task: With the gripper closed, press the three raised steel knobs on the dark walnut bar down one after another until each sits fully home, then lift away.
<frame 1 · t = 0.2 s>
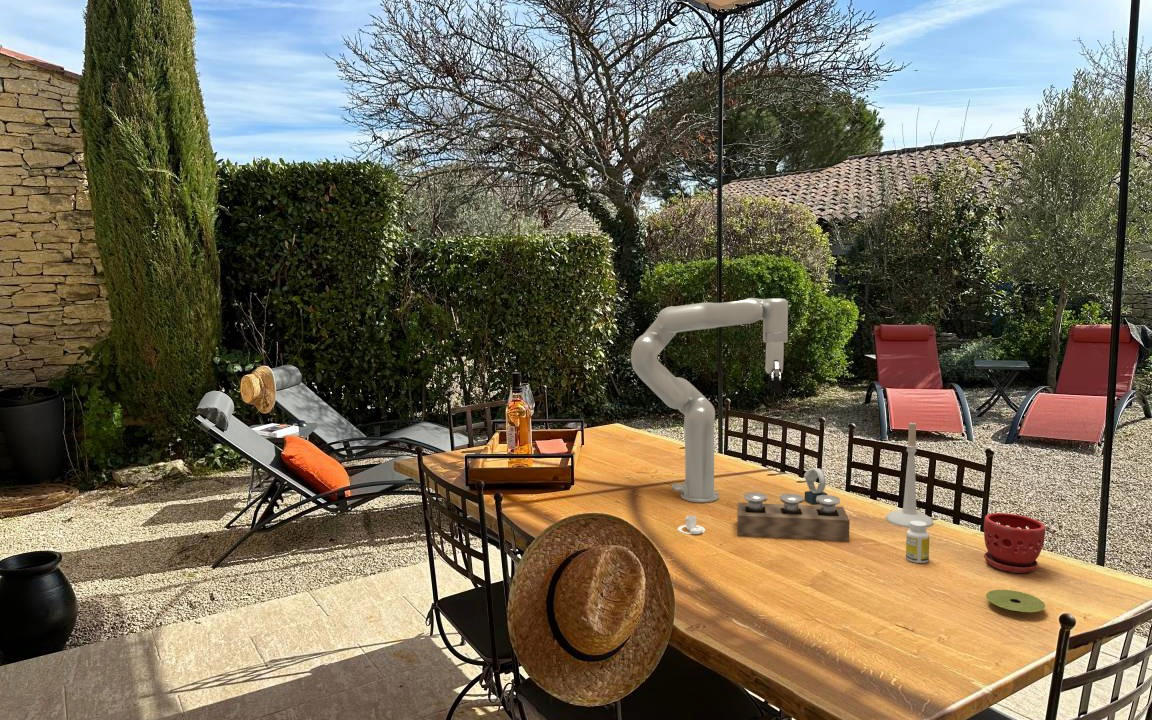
hand: (774, 390, 238), 36 cm above the table, tool pointing down, fingers open, 9 cm apart
plant pot: (1012, 567, 186), on the table
knob 1: (755, 504, 215), point 8 cm above the table, slide at 3.0 cm
knob bar: (790, 531, 214), on the table
watch: (815, 502, 240), on the table
mat: (1014, 609, 164), on the table
knob 2: (827, 507, 211), point 8 cm above the table, slide at 3.0 cm
knob mid: (791, 506, 213), point 8 cm above the table, slide at 3.0 cm
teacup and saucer: (684, 534, 215), on the table
candlestick: (909, 521, 221), on the table
supplement bottle: (917, 560, 192), on the table
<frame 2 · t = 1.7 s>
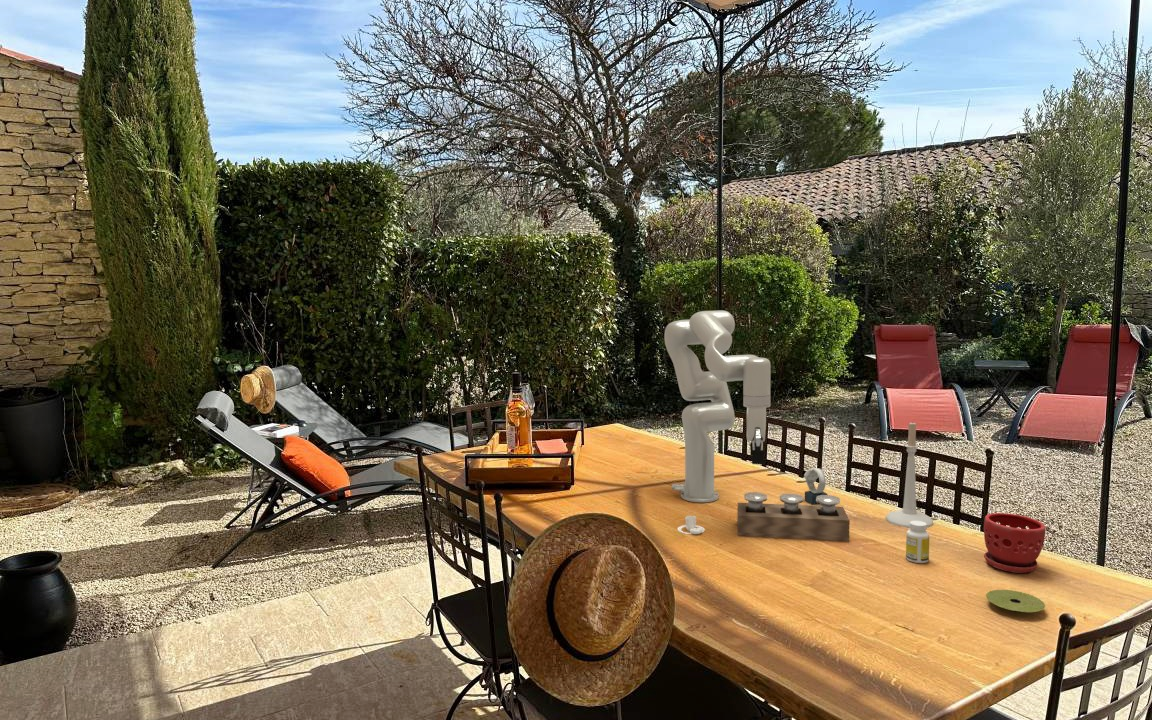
hand: (756, 459, 214), 21 cm above the table, tool pointing down, fingers open, 9 cm apart
nothing on the table moved.
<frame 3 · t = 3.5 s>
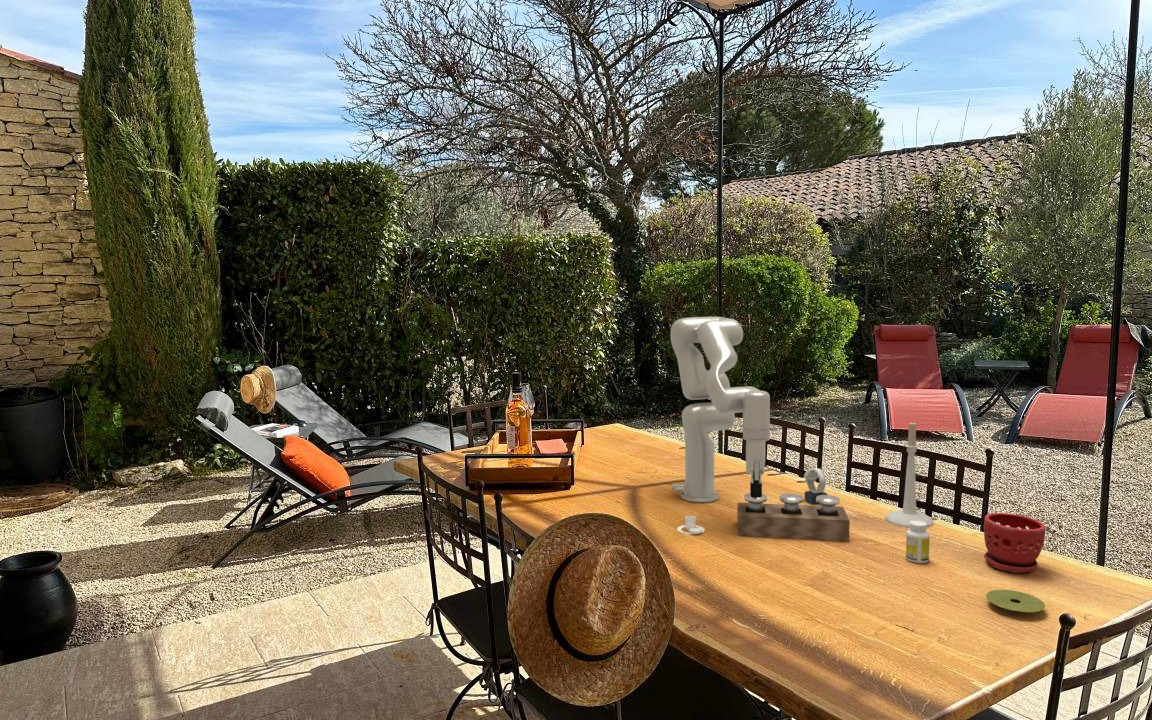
hand: (756, 496, 215), 10 cm above the table, tool pointing down, fingers closed
knob 1: (755, 505, 215), point 7 cm above the table, slide at 2.8 cm, touching gripper
everything else where it was.
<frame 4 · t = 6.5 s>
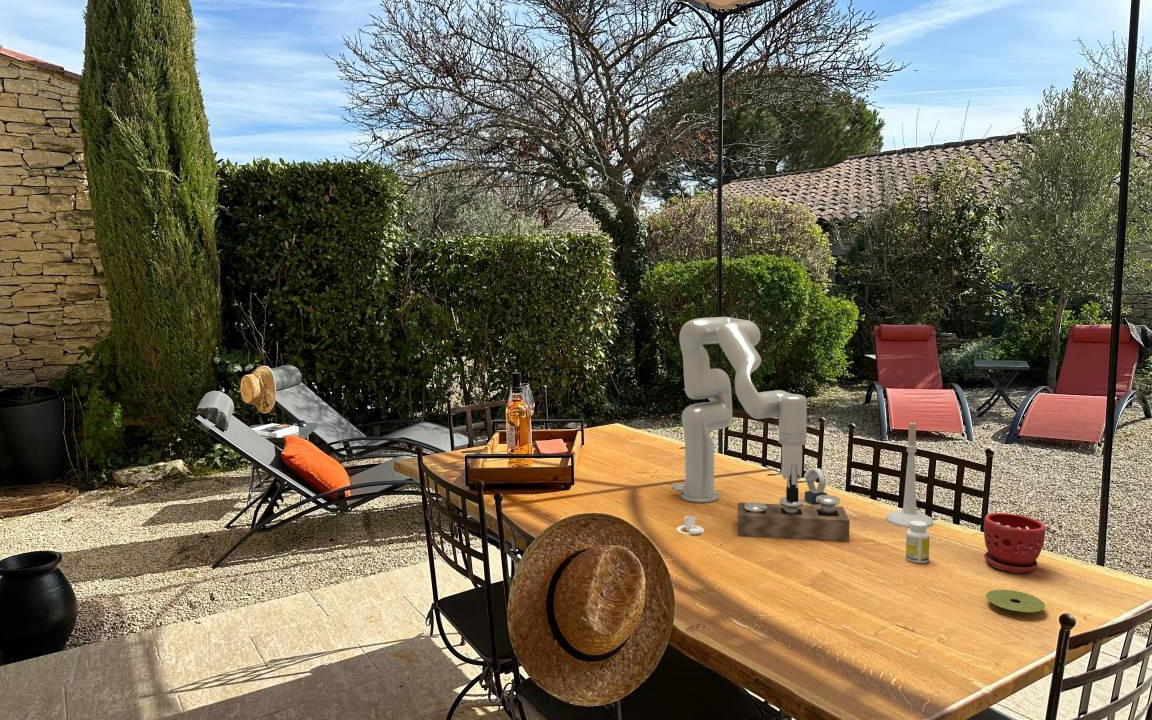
hand: (792, 500, 213), 9 cm above the table, tool pointing down, fingers closed
knob 1: (755, 514, 216), point 4 cm above the table, slide at -0.1 cm
knob mid: (791, 509, 213), point 6 cm above the table, slide at 1.9 cm, touching gripper
everything else where it was.
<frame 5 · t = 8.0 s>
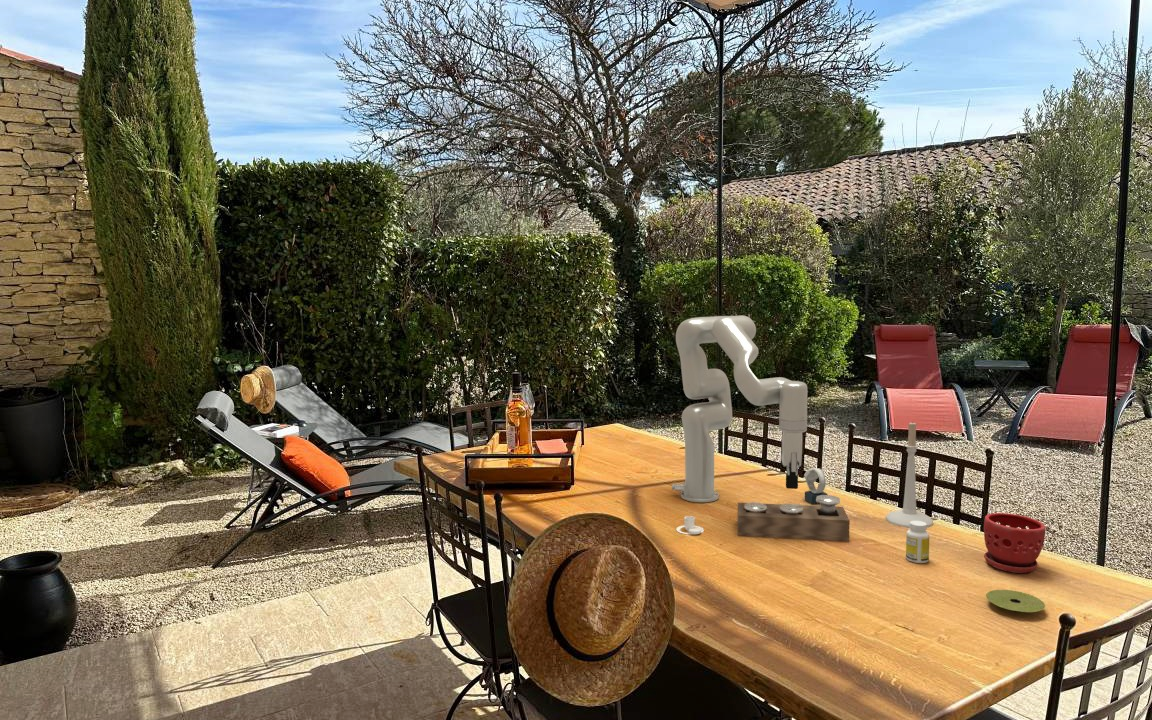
hand: (791, 487, 213), 13 cm above the table, tool pointing down, fingers closed
knob mid: (791, 516, 214), point 4 cm above the table, slide at -0.1 cm
everything else where it was.
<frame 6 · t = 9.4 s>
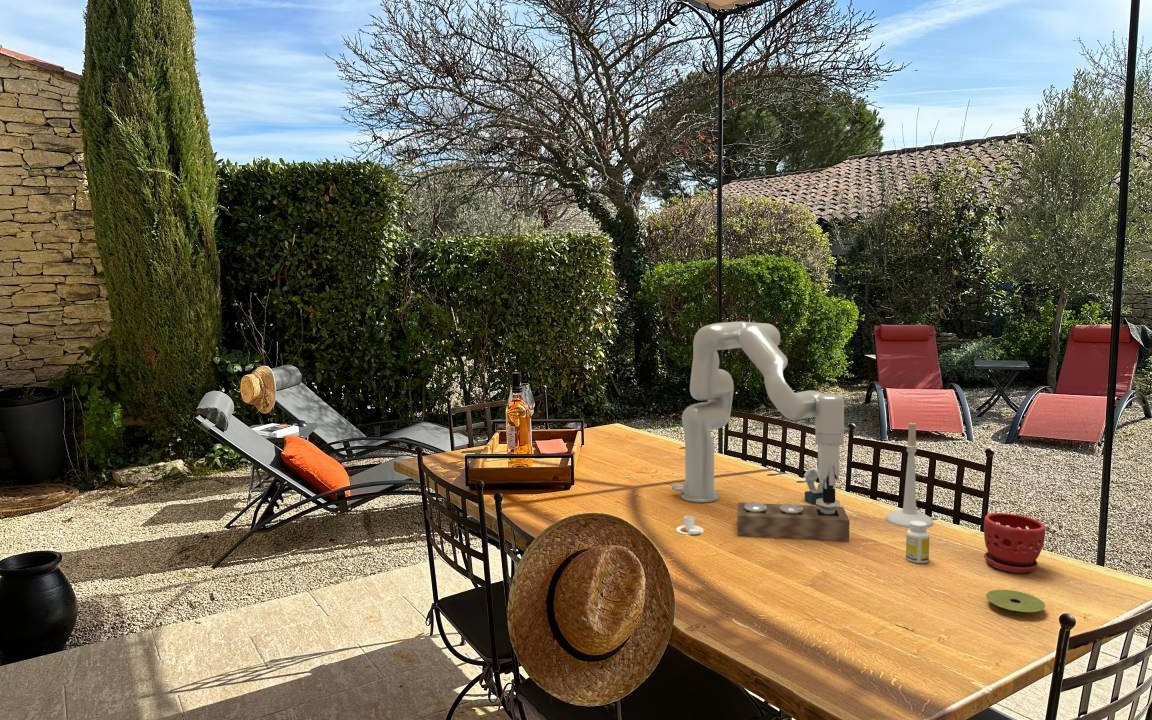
hand: (828, 501, 211), 9 cm above the table, tool pointing down, fingers closed
knob 2: (827, 510, 211), point 7 cm above the table, slide at 2.0 cm, touching gripper
everything else where it was.
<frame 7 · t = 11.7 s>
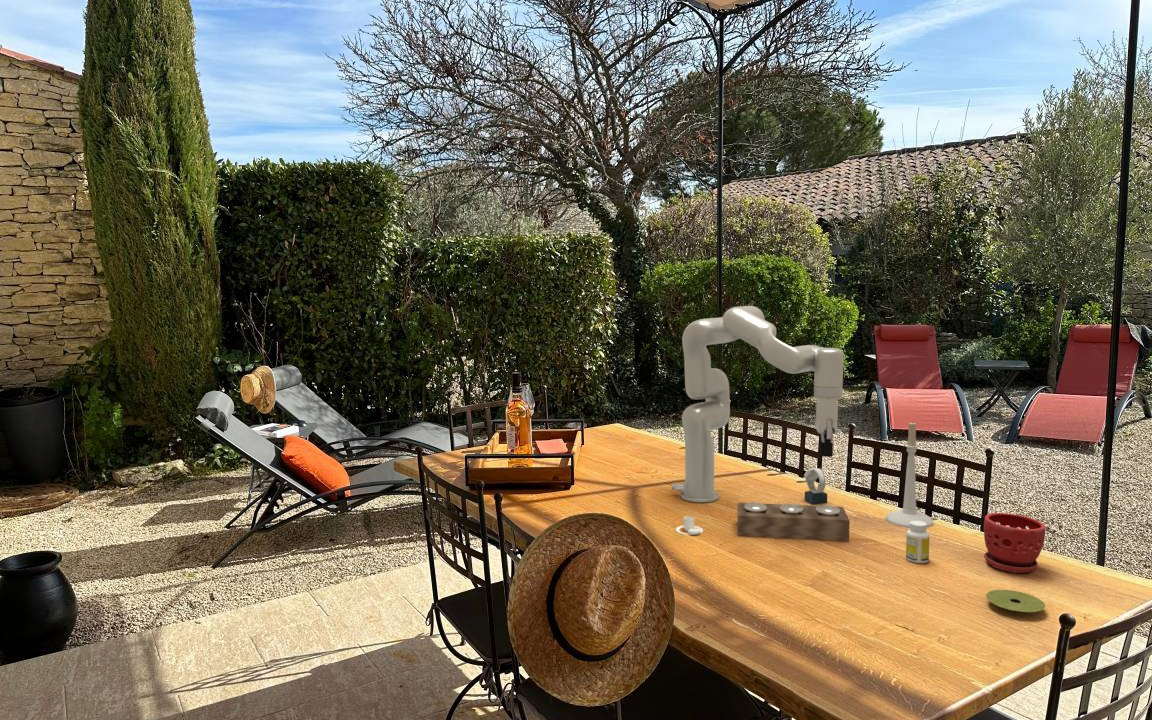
hand: (826, 455, 211), 22 cm above the table, tool pointing down, fingers closed
knob 2: (827, 517, 212), point 4 cm above the table, slide at -0.1 cm
everything else where it was.
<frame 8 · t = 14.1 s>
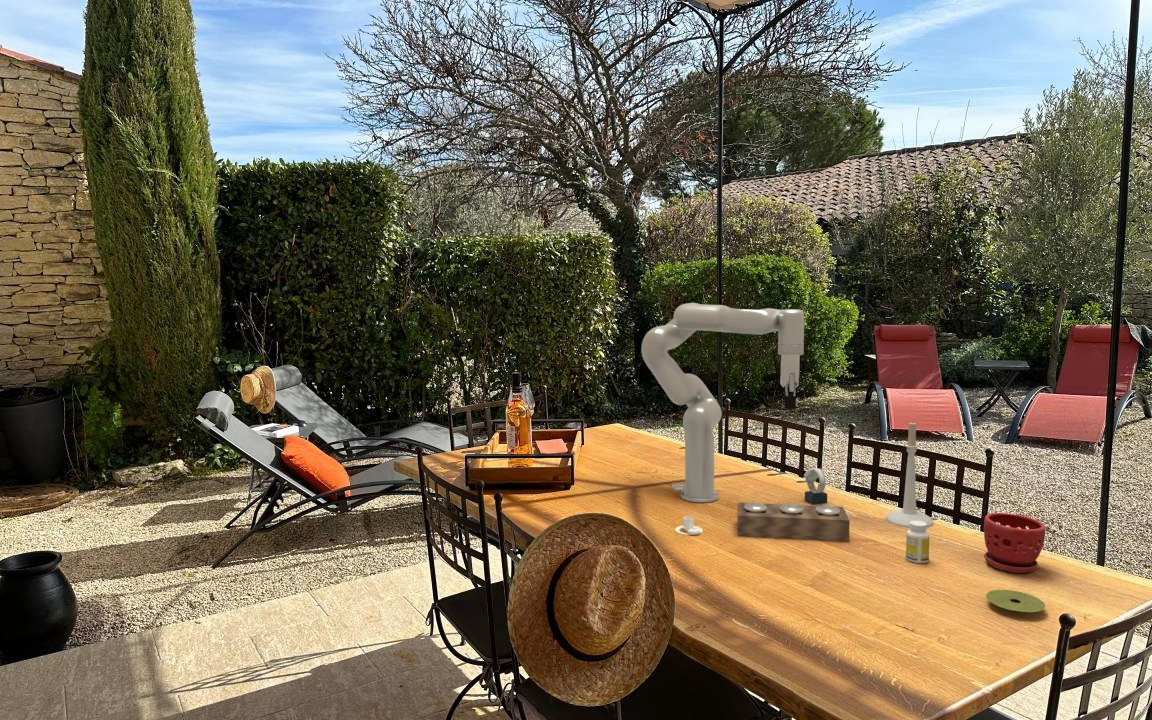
hand: (790, 408, 231), 32 cm above the table, tool pointing down, fingers closed
nothing on the table moved.
at the end: knob 1 slide at -0.1 cm; knob mid slide at -0.1 cm; knob 2 slide at -0.1 cm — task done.
